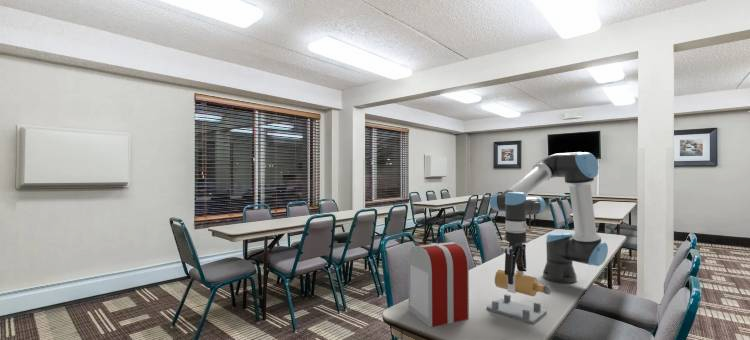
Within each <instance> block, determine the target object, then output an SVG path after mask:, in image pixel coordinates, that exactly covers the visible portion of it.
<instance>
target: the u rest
mask: <svg viewBox="0 0 750 340" xmlns="http://www.w3.org/2000/svg"><path fill="white" fill-rule="evenodd" d="M541 308H542V307H541V302H538V301H537V302H536V301H534V302H533V306H530V305H527V304H524V303H520V302H516V301H512V300H511V294H507V293H505V294H504V295H503V298H500V299H498V300H493V301H491V303H490V304H489V305H488V306H486V310H487V311H491V312H494V313H497V314H500V315H504V316H506V317H509V318H513V319H516V320H519V321H523V322H524V323H529V324H532V325H534V324H535V323H537V322H538V321H539V320H540V319H542V318H543V317H544V316H545V315H546V314H547V312H548V311H547V310H544V309H541Z"/></svg>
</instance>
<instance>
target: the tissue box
mask: <svg viewBox="0 0 750 340" xmlns="http://www.w3.org/2000/svg"><path fill="white" fill-rule="evenodd" d="M445 242H446V243H445ZM445 242H441V243H436V242H432V243H428V244H419V245H413V246H412V247H410V249H409V253H408V261H407V262H408V311H409V312H410V313H411V314H412V315H414V316H415V317H416V318H418V319H419V320H420V321H421V322H423V323H424V324H425V325H427V326H428V327H430V328H432V327H437V326H443V325H446V324H454V323H455V322H460V321H465V320H468V319H470V299H469V297H470V287H469V285H470V284H469V283H470V281H469V280H470V277H469V275H470V272H469V271H470V270H469V267H470V266H469V265H470V264H469V258H468V254H467V252H466V250H465V248H464V247H463V246H462V245H459V244H458V243H457V242H448V241H445Z"/></svg>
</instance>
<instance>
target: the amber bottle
mask: <svg viewBox="0 0 750 340" xmlns="http://www.w3.org/2000/svg"><path fill="white" fill-rule="evenodd" d="M514 276H515V293H518V294H523V295H526V296H531V297H535V296H536V295H537V293H542V294H545V295H550V293H551V286H549V285H543V284H539V283H538V282H539V281H538V279H537V277H535V276H531V275H525V274H524V275H522V274H517V273H516V272H515V273H514ZM494 284H495V287H497V288H500V289H504V290H506V291H508V275H505V269H498V270H497V271H496V273H495V276H494Z"/></svg>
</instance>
